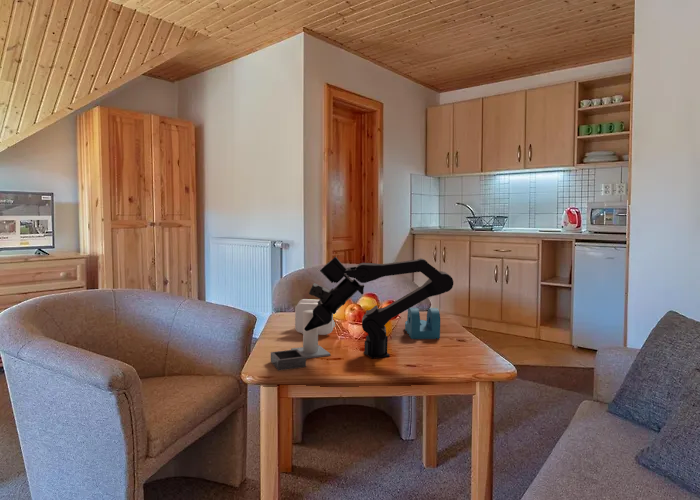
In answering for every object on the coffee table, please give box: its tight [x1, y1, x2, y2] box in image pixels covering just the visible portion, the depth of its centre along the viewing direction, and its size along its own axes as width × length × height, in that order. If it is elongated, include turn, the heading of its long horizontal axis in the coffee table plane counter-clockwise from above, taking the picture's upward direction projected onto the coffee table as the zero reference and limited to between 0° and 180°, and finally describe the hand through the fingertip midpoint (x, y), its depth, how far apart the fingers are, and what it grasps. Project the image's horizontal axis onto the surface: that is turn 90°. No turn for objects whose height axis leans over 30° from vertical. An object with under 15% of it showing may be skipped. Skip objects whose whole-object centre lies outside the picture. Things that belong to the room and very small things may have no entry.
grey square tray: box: [270, 349, 307, 372], centre depth 140 cm, size 8×8×3 cm
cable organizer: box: [294, 298, 336, 336], centre depth 178 cm, size 15×11×12 cm
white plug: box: [302, 310, 319, 353], centre depth 150 cm, size 5×5×13 cm
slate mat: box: [290, 344, 331, 360], centre depth 151 cm, size 10×10×1 cm
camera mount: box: [404, 307, 441, 340], centre depth 178 cm, size 18×10×10 cm, turn 4°
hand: (307, 326), depth 150 cm, fingers open, 9 cm apart
